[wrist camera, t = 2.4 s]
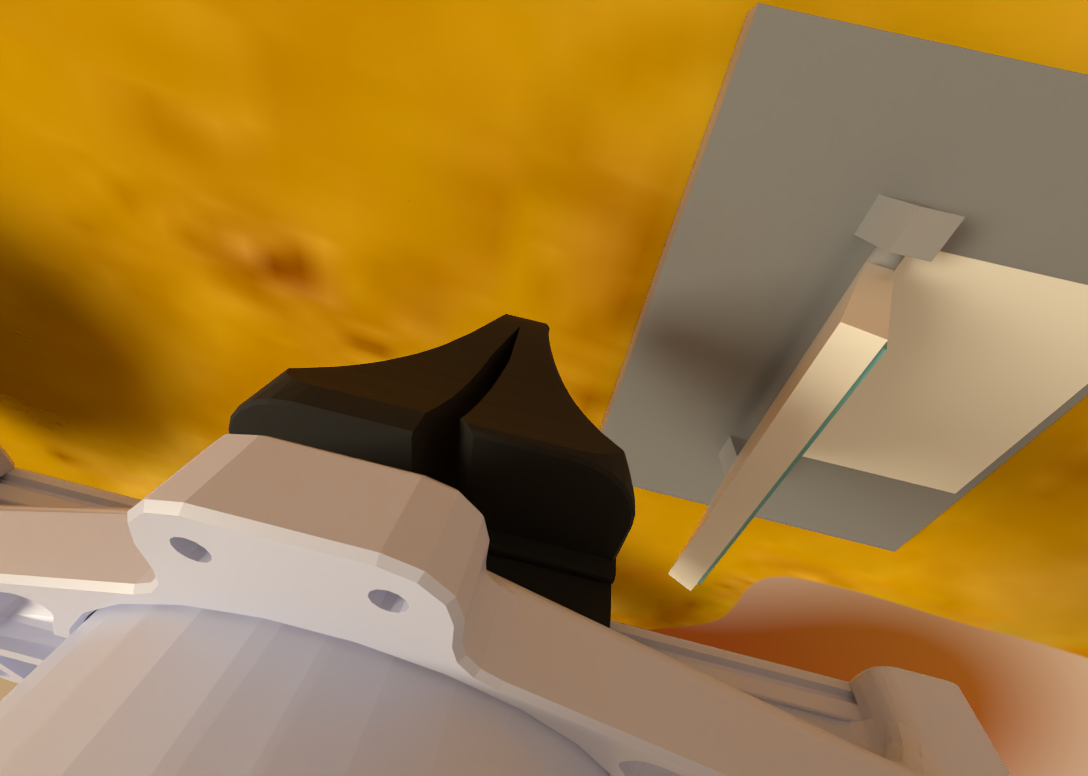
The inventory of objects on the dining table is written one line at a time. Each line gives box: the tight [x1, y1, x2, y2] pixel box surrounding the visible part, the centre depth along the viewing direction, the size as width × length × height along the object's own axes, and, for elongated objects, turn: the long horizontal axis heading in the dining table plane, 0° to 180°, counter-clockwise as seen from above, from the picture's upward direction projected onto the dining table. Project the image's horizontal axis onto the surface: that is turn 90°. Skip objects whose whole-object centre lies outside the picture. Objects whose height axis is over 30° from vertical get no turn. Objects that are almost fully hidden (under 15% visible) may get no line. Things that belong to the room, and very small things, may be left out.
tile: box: [668, 262, 894, 591], centre depth 11 cm, size 8×7×1 cm
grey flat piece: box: [599, 3, 1088, 552], centre depth 15 cm, size 18×16×3 cm
